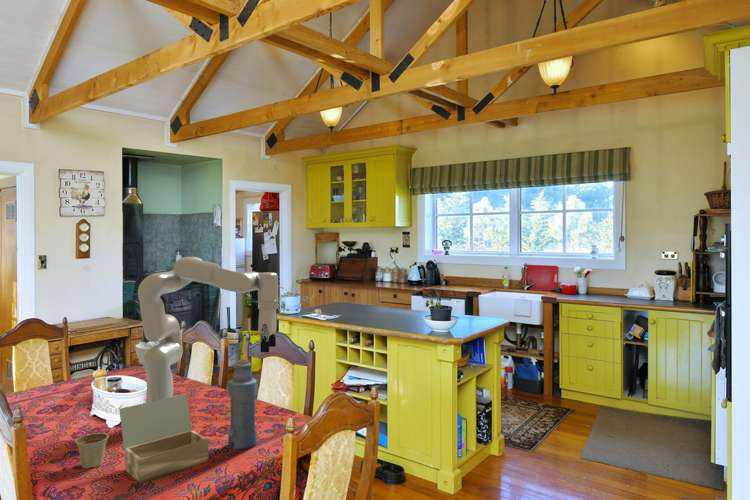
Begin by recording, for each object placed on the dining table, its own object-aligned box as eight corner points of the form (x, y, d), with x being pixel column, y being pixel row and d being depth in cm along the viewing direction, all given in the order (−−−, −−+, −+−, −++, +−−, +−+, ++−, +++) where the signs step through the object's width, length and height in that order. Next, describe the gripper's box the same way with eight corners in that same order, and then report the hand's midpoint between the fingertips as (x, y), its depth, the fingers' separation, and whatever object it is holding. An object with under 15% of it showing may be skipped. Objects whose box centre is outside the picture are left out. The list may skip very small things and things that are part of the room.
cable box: (125, 470, 162) (125, 448, 162) (192, 450, 178) (191, 430, 178) (139, 483, 154) (139, 460, 154) (208, 460, 169) (208, 439, 169)
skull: (184, 392, 244) (183, 344, 243) (141, 400, 232) (141, 350, 232) (169, 381, 264) (168, 336, 263) (129, 387, 252) (128, 341, 252)
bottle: (227, 441, 185) (226, 358, 185) (254, 437, 189) (254, 356, 188) (230, 451, 176) (229, 364, 176) (259, 447, 180) (258, 362, 179)
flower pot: (84, 458, 171) (84, 433, 171) (113, 457, 172) (113, 432, 172) (70, 471, 162) (69, 444, 161) (101, 470, 162) (100, 443, 162)
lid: (125, 448, 162) (123, 448, 163) (191, 430, 178) (190, 430, 179) (120, 408, 165) (118, 408, 166) (186, 393, 180) (185, 394, 181)
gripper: (264, 301, 205) (264, 344, 205) (251, 307, 188) (252, 354, 188) (283, 302, 205) (283, 344, 205) (272, 307, 187) (272, 354, 188)
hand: (268, 349), depth 197 cm, fingers open, 9 cm apart
